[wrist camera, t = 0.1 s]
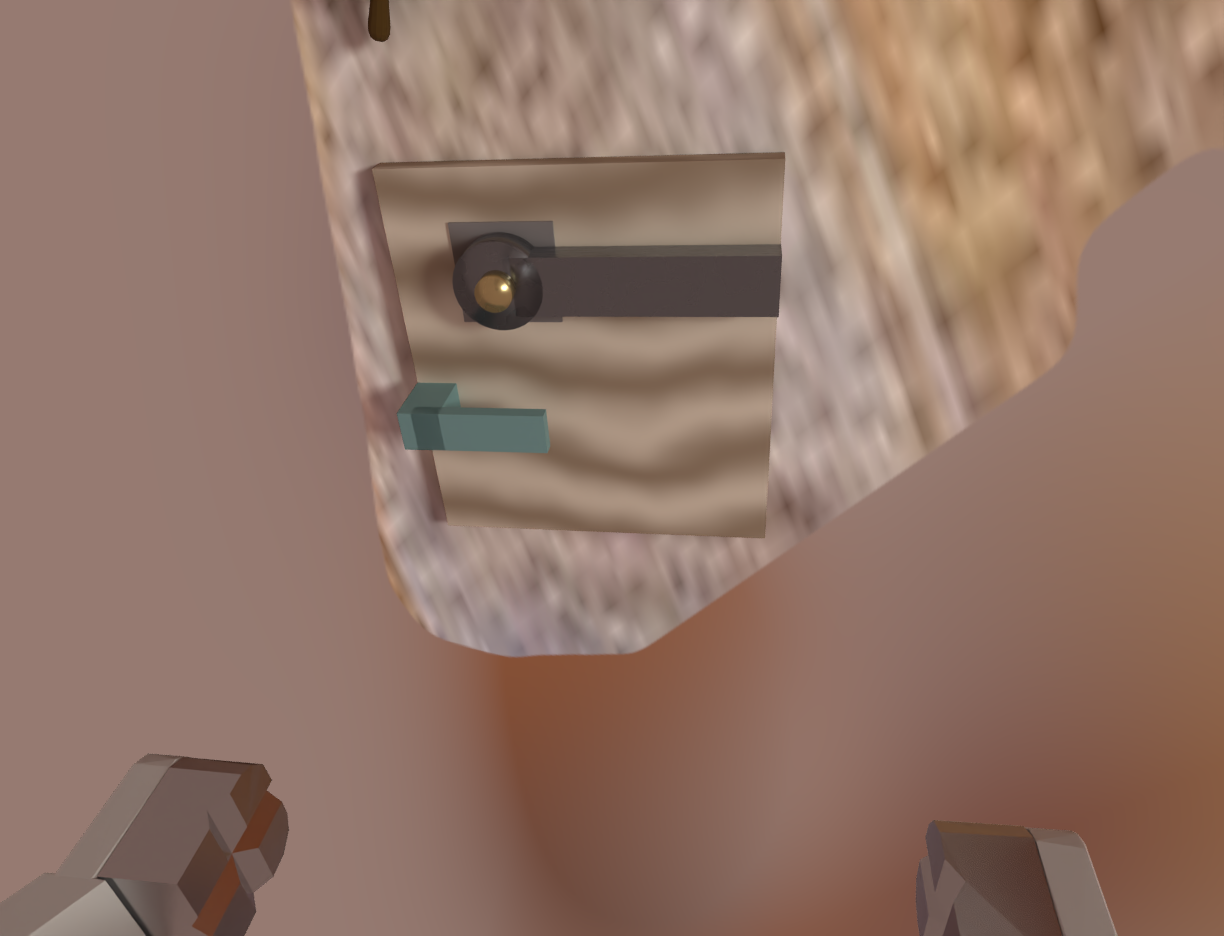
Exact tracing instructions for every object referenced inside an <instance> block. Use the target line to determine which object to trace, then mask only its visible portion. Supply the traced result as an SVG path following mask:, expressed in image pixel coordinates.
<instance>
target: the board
mask: <svg viewBox="0 0 1224 936" xmlns="http://www.w3.org/2000/svg"><path fill="white" fill-rule="evenodd" d="M372 172H373V177H374V182H375V186H376V191H377V196H378V200H379V205H380V209H381V214H382V219H383V223H384V228H385V233H386V237H387V242H388V247H389V251H390V256H391V261H392V265H393V270H394V275H395V279H396V284H397V289H398V293H399V298H400V303H401V307H402V312H403V317H404V321H405V326H406V331H407V335H408V340H409V345H410V349H411V354H412V359H413V363H414V368H415V373H416V377H417V382H418V383H456V384H457V389H458V394H459V400H460V405H461V407H464V408H517V409H546V413H547V422H548V430H549V438H550V448H549V451H548V453H521V452H484V451H447V450H432V452H433V456H434V461H435V466H436V470H437V475H438V480H439V484H440V489H441V494H442V498H443V503H444V508H445V512H446V517H447V522H448V525H450V526H474V527H499V528H523V529H548V530H572V531H597V532H621V533H646V534H671V535H695V536H720V537H744V538H765V527H766V509H767V490H768V471H769V453H770V434H771V415H772V397H773V378H774V359H775V340H776V322H777V317H534V318H533V319H532V320H531V321H530V322H528V323H527V324H525V325H524V326H521V327H519V328H516V329H512V330H495V329H491V328H488V327H485V326H483V325H481V324H479V323H477V322H476V321H474V320H473V319H472V318H470V317H469V316H468V315H467V314H466V313H465V312H464V310H463V309H462V308H461V306H460V305H459V303H458V301H457V299H456V297H455V294H454V290H453V283H452V279H453V271H454V268H455V265H456V263H457V261H458V260H459V258H460V257H461V256H462V254H463V253H464V252H465V251H466V249H467V248H468V247H469V246H470V245H471V243H472V242H473V241H475V240H476V239H477V238H479V237H481V236H483V235H486V234H489V233H494V232H505V233H511V234H514V235H517V236H519V237H521V238H523V239H525V240H526V241H528V242H529V243H530V244H532V245H533V246H534V247H561V246H658V245H755V244H781V228H782V210H783V191H784V172H785V152H778V153H740V154H702V155H664V156H625V157H587V158H549V159H511V160H473V161H434V162H396V163H380V164H378V165H377V166H375V167H374V168H373V169H372Z"/></svg>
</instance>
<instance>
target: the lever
mask: <svg viewBox="0 0 1224 936" xmlns="http://www.w3.org/2000/svg"><path fill="white" fill-rule="evenodd" d="M781 263H782V250H781V244H755V245H658V246H561V247H534V246H533V245H532V244H530V243H529V242H528V241H526V240H525V239H523V238H521V237H519V236H517V235H514V234H511V233H505V232H494V233H489V234H486V235H483V236H481V237H479V238H477V239H476V240H475V241H473V242H472V243H471V245H470V246H469V247H468V248H467V249H466V251H465V252H464V253H463V254H462V256H461V257H460V258H459V260H458V261H457V263H456V265H455V268H454V271H453V279H452V283H453V290H454V294H455V297H456V299H457V301H458V303H459V305H460V306H461V308H462V309H463V310H464V312H465V313H466V314H467V315H468V316H469V317H470V318H472V319H473V320H474V321H476V322H477V323H479V324H481V325H483V326H485V327H488V328H491V329H495V330H512V329H516V328H519V327H521V326H524V325H525V324H527V323H528V322H530V321H531V320H532V319H533V318H534V317H779V299H780V281H781Z"/></svg>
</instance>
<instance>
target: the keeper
mask: <svg viewBox="0 0 1224 936" xmlns="http://www.w3.org/2000/svg"><path fill="white" fill-rule="evenodd" d="M397 417H398V421H399V425H400V430H401V434H402V438H403V442H404V447H405V449H410V450H447V451H484V452H521V453H548V451H549V448H550V438H549V430H548V422H547V413H546V409H517V408H464V407H461V405H460V400H459V394H458V389H457V384H456V383H417V384H416V386H415V387H414V389H413V390H412V392H411V393H410V395H409V396H408V398H407V399H406V401H405V402H404V403H403V405H402V406H401V408H400V409H399V411H398V412H397Z"/></svg>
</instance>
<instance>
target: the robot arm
mask: <svg viewBox="0 0 1224 936" xmlns="http://www.w3.org/2000/svg"><path fill="white" fill-rule="evenodd" d="M271 781H272V779H271V778H270V776H269V774H268V772H267V770H266V769H265V767H264V765H263V764H254V763H242V762H232V761H221V760H209V759H198V758H190V757H184V756H171V755H159V754H147V755H146V756H144V757H143V758H141V759H140V760H139V761H137V762H136V763H135V764H134V765H133V766H132V767H131V768H130V770H129V771H128V773H127V774H126V775H125V777H124V778H123V780H122V781H121V782H120V784H119V785H118V787H117V788H116V789H115V791H114V792H113V794H112V795H111V796H110V798H109V799H108V801H107V802H106V803H105V805H104V806H103V808H102V809H101V810H100V812H99V813H98V815H97V816H96V817H95V819H94V820H93V822H92V823H91V824H90V826H89V827H88V829H87V830H86V832H85V833H84V834H83V836H82V837H81V838H80V840H79V841H78V843H77V844H76V845H75V847H74V848H73V850H72V851H71V852H70V854H69V855H68V857H67V858H66V859H65V861H64V862H63V864H62V865H61V866H60V868H59V869H58V871H57V872H56V873H55V874H53V873H44V874H42V875H41V876H39V877H38V878H36V879H35V880H34V881H32V882H31V883H29V884H28V885H26V886H25V887H24V888H22V889H20V890H19V891H18V892H16V893H15V894H13V895H12V896H10V897H9V898H7V899H6V900H4V901H3V902H1V903H0V936H244V935H245V933H246V931H247V929H248V927H249V925H250V923H251V921H252V919H253V917H254V915H255V913H256V907H255V901H254V892H255V891H256V890H257V889H259V888H260V887H261V886H262V885H264V884H265V883H266V882H267V881H268V880H270V879H271V878H272V877H273V876H274V874H275V872H276V869H277V867H278V865H279V863H280V861H281V859H282V857H283V855H284V850H285V846H286V840H287V836H288V831H289V827H288V816H287V812H286V810H285V807H284V805H283V803H282V801H280V800H279V799H278V798H276V797H275V796H274V795H272V794H271V793H270V792H268V791H267V788H268V787H269V785H270V783H271ZM926 843H927V849H928V856H926V857H924V858H923V859H921V860H920V863H919V868H918V873H917V878H916V909H917V919H918V920H917V921H918V928H919V935H920V936H1117V933H1116V931H1115V928H1114V925H1113V922H1112V920H1111V916H1110V913H1109V910H1108V908H1107V905H1106V902H1105V899H1104V897H1103V894H1102V890H1101V888H1100V885H1099V882H1098V879H1097V876H1096V874H1095V871H1094V868H1093V865H1092V862H1091V859H1090V856H1089V853H1088V850H1087V848H1086V845H1085V843H1084V842H1083V840H1082V839H1081V838H1080V837H1079V835H1078V834H1077V833H1075V832H1072V831H1065V830H1052V829H1038V828H1025V827H1024V826H1013V825H998V824H982V823H968V822H952V821H938V820H933V821H932V822H931V823H930V824H929V827H928V830H927V834H926Z"/></svg>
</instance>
